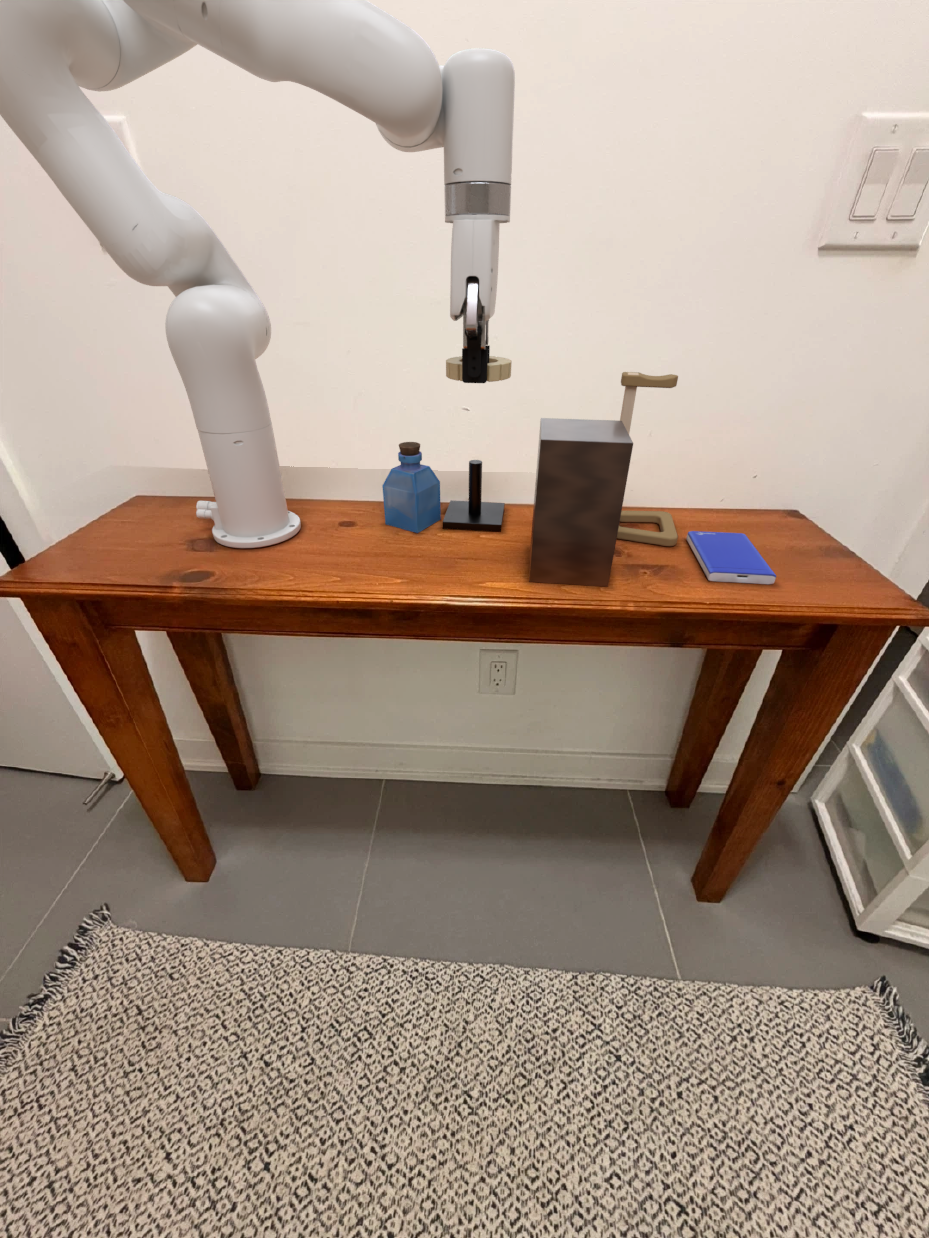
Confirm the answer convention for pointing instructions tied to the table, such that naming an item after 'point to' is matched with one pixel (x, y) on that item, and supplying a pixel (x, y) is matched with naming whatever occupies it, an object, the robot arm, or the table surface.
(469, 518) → the post
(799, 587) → the table surface
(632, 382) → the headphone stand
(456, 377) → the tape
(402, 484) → the perfume bottle
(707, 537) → the hard drive
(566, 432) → the stand box
